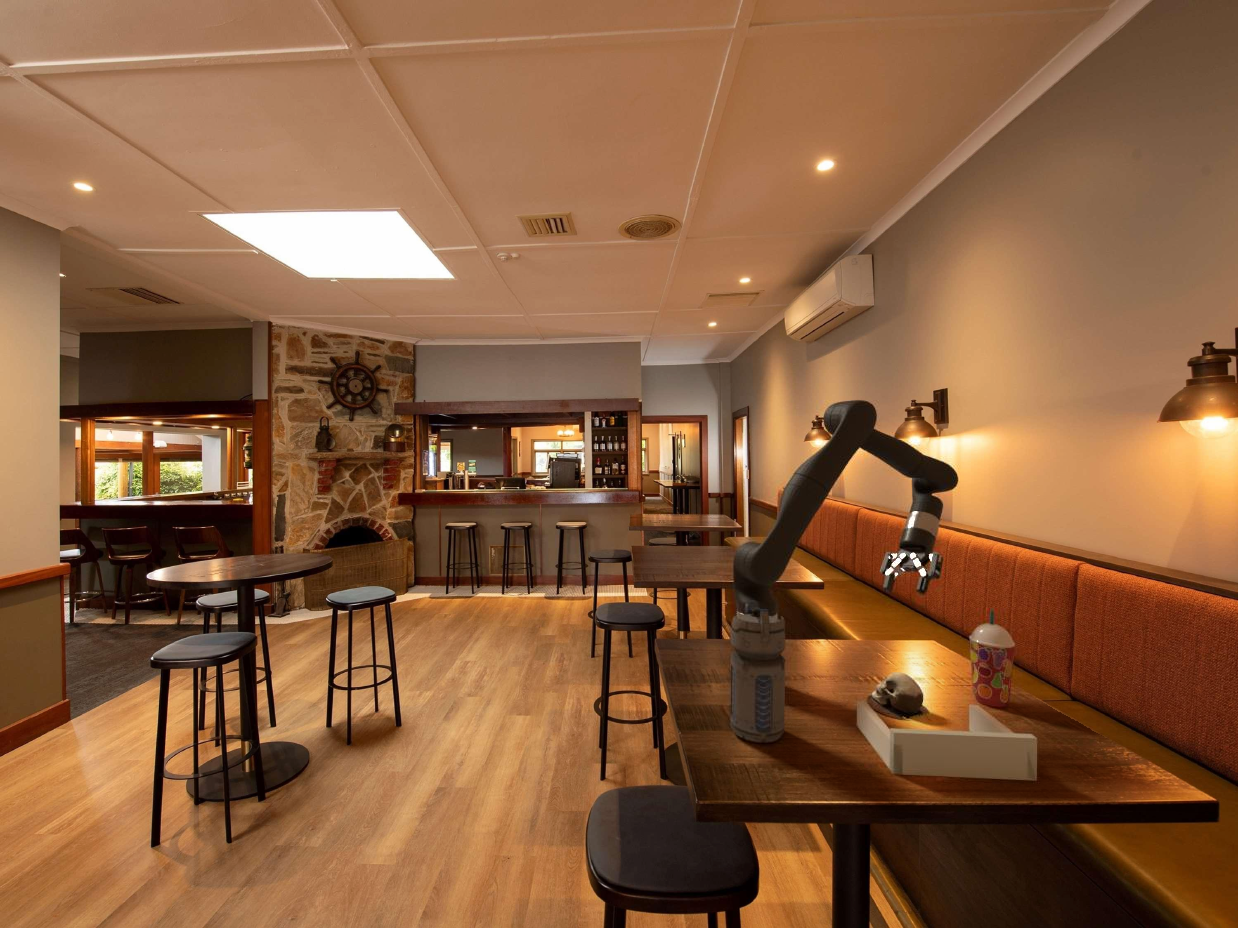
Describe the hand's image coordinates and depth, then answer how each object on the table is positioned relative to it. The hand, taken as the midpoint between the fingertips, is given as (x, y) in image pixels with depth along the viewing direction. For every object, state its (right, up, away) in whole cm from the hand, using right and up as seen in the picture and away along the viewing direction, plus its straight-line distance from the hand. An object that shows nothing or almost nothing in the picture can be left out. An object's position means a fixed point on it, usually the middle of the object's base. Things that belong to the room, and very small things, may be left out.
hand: (903, 592), depth 135 cm
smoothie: (+14, -22, -11) cm, 28 cm away
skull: (-8, -22, -14) cm, 28 cm away
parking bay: (-10, -22, -32) cm, 40 cm away
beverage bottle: (-42, -21, -25) cm, 53 cm away
